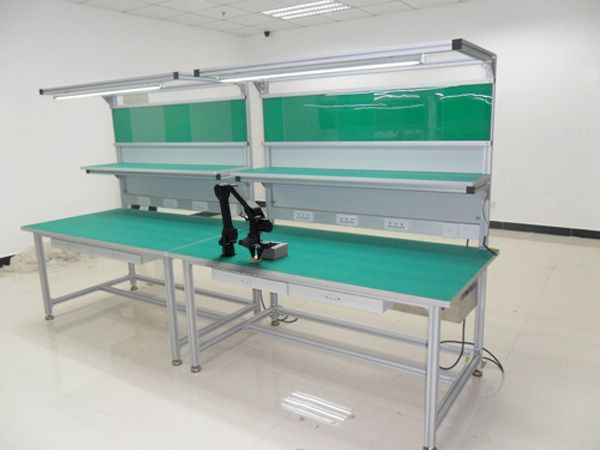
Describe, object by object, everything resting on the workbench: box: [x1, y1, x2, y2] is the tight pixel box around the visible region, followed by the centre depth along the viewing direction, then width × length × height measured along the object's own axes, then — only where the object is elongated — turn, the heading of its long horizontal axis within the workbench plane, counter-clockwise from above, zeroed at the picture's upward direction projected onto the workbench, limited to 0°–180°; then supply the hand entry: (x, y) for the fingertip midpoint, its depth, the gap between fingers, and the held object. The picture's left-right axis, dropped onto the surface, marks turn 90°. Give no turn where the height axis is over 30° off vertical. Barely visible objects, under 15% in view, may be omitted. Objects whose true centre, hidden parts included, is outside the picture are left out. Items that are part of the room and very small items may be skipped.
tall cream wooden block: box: [249, 254, 263, 264], centre depth 240 cm, size 3×6×2 cm, turn 146°
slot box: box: [256, 240, 289, 261], centre depth 249 cm, size 12×12×6 cm
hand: (256, 259), depth 240 cm, fingers closed on tall cream wooden block, 3 cm apart
